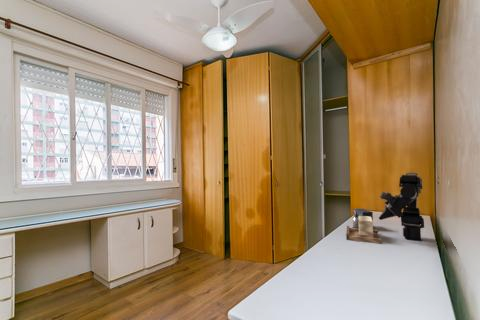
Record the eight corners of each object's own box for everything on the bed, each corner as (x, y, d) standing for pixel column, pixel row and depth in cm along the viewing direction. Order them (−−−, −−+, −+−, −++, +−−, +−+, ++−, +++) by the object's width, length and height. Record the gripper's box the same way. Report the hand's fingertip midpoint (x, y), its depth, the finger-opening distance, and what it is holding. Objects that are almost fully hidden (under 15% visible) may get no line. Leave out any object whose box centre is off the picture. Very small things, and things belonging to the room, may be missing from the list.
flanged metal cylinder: (361, 227, 136) (360, 212, 136) (361, 231, 129) (361, 215, 129) (351, 226, 138) (351, 212, 138) (351, 230, 131) (351, 214, 131)
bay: (377, 233, 124) (377, 228, 124) (381, 243, 109) (380, 237, 109) (347, 230, 130) (346, 225, 130) (346, 239, 116) (346, 233, 116)
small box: (374, 229, 131) (373, 211, 131) (362, 230, 131) (362, 212, 131) (363, 225, 142) (363, 208, 142) (353, 225, 142) (352, 208, 142)
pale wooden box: (371, 233, 123) (371, 216, 123) (373, 239, 113) (372, 221, 113) (358, 232, 125) (358, 215, 125) (359, 238, 115) (358, 220, 116)
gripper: (388, 184, 123) (365, 204, 128) (393, 188, 106) (366, 210, 111) (406, 200, 119) (382, 219, 124) (414, 206, 102) (386, 228, 107)
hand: (379, 219), depth 117 cm, fingers closed
